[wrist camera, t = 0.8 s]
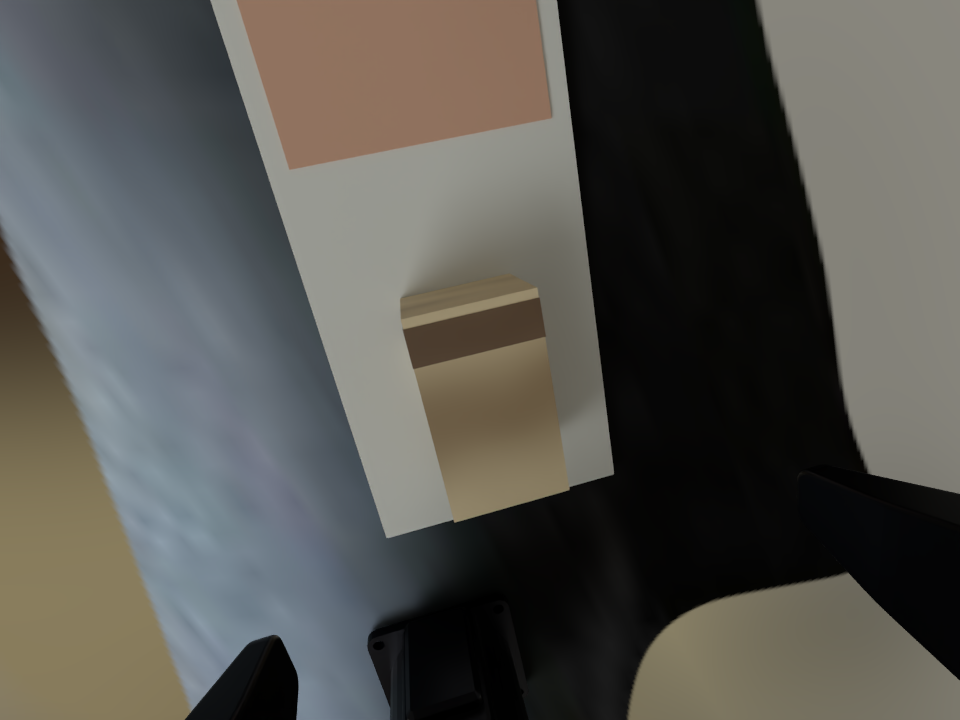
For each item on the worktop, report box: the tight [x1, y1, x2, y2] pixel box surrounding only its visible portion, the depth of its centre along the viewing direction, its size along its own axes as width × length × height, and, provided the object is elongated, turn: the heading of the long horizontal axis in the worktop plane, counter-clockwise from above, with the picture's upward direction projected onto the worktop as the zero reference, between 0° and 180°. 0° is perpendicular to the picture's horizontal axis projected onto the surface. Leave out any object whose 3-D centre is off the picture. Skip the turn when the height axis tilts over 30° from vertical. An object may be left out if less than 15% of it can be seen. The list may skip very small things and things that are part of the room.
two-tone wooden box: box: [400, 273, 569, 523], centre depth 16 cm, size 7×4×4 cm, turn 12°
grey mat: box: [210, 0, 614, 538], centre depth 16 cm, size 22×10×1 cm, turn 11°
